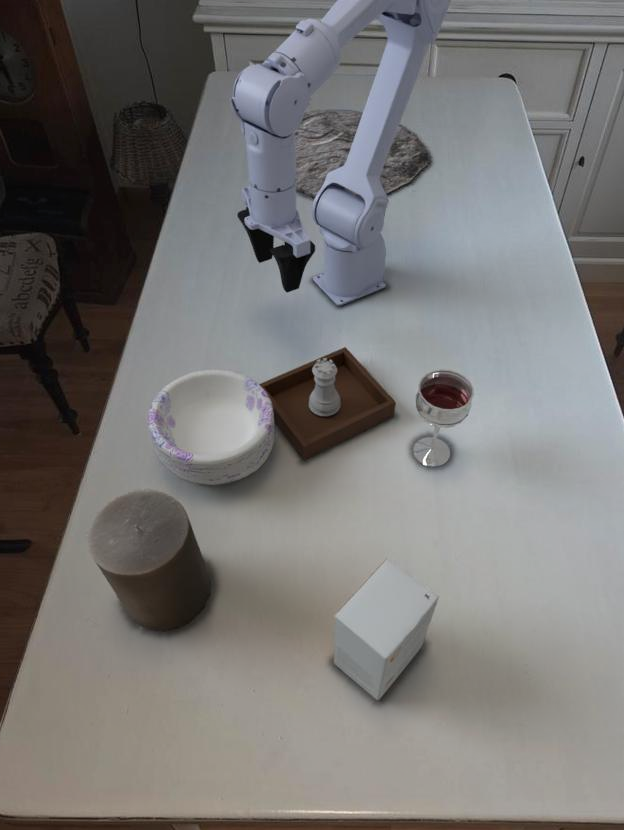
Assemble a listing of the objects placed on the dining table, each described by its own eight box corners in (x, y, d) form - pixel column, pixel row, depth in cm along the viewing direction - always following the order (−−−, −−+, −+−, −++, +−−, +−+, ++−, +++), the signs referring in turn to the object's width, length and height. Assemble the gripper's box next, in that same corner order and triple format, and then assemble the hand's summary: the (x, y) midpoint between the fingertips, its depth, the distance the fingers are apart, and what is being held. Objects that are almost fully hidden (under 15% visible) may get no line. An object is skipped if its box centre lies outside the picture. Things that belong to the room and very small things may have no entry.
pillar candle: (217, 618, 70) (195, 554, 57) (127, 642, 68) (84, 580, 56) (203, 544, 75) (180, 471, 63) (120, 564, 73) (78, 492, 61)
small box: (378, 610, 71) (387, 555, 60) (423, 645, 69) (441, 595, 58) (331, 663, 67) (332, 615, 57) (377, 703, 65) (387, 660, 54)
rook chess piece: (337, 421, 86) (338, 380, 79) (305, 415, 86) (303, 374, 80) (343, 397, 89) (345, 355, 82) (312, 392, 89) (311, 350, 82)
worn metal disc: (320, 95, 141) (320, 93, 140) (455, 146, 130) (455, 144, 129) (219, 156, 125) (218, 154, 124) (363, 220, 114) (363, 218, 114)
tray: (344, 361, 93) (345, 346, 91) (394, 416, 88) (396, 402, 85) (258, 400, 88) (256, 385, 86) (304, 460, 83) (303, 446, 80)
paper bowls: (300, 453, 83) (298, 413, 77) (208, 520, 77) (197, 483, 70) (228, 391, 89) (221, 349, 83) (137, 448, 83) (121, 408, 76)
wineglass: (397, 440, 85) (407, 377, 75) (442, 426, 87) (457, 363, 77) (420, 478, 82) (434, 417, 72) (466, 462, 83) (485, 401, 73)
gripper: (216, 161, 79) (228, 255, 90) (273, 218, 72) (278, 312, 83) (265, 147, 82) (271, 241, 93) (325, 201, 75) (323, 295, 86)
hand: (277, 274), depth 88 cm, fingers open, 7 cm apart
